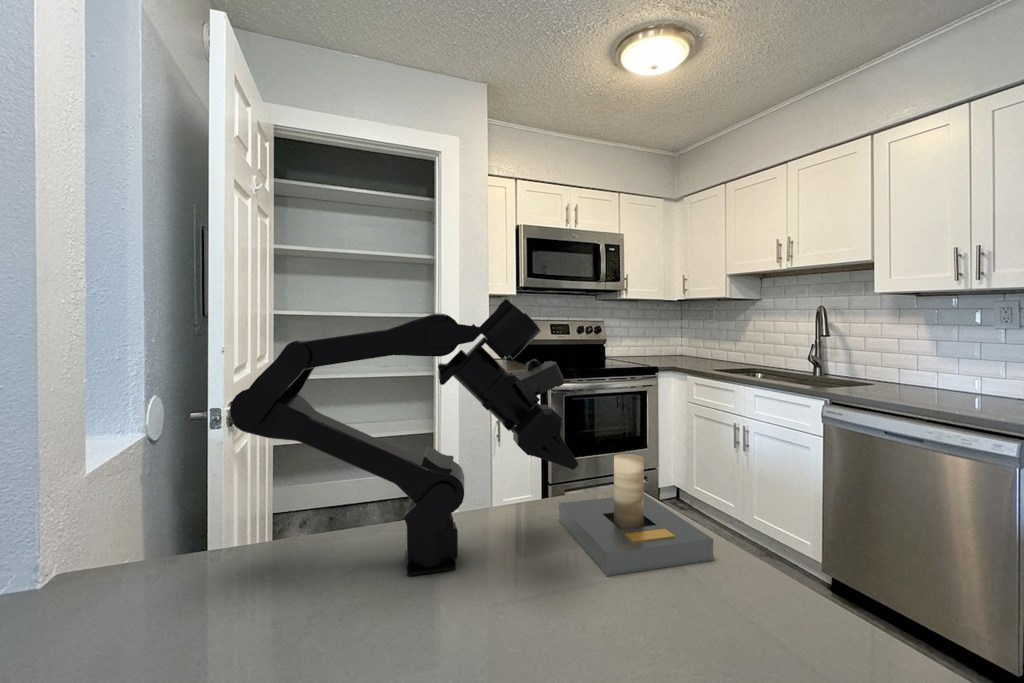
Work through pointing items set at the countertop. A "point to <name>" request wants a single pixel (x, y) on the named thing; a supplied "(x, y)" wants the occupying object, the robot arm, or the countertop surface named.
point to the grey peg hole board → (634, 537)
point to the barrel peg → (628, 491)
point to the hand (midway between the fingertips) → (566, 457)
